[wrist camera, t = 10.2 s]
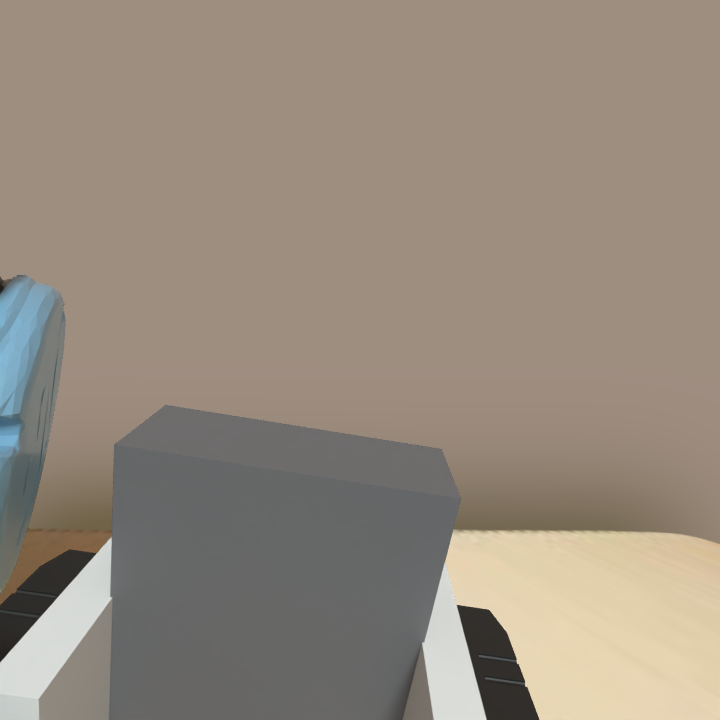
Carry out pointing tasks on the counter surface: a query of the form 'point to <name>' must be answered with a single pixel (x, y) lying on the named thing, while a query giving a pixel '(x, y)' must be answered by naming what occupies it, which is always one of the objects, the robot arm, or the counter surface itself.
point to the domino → (271, 569)
